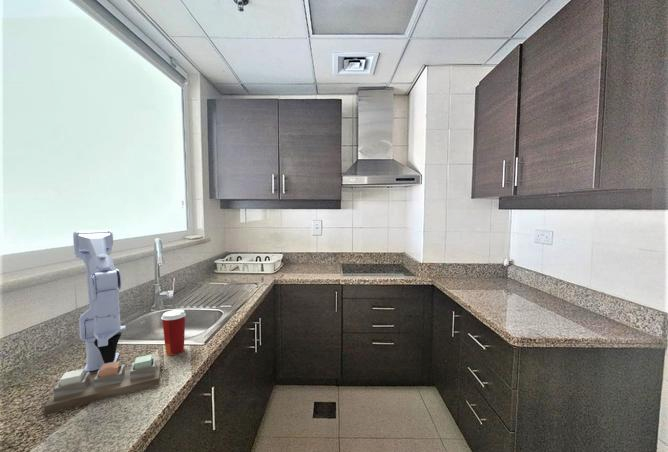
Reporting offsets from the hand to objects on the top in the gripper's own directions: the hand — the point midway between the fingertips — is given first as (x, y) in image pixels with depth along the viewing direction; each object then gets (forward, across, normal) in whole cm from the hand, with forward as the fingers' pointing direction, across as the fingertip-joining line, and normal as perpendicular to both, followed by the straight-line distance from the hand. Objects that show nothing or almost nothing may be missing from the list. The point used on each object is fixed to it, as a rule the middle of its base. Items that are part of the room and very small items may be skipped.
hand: (109, 361), depth 82 cm
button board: (+7, 0, 0) cm, 7 cm away
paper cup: (+8, +15, -16) cm, 23 cm away
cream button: (+4, 0, +8) cm, 9 cm away
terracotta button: (+4, 0, 0) cm, 4 cm away
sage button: (+4, 0, -8) cm, 9 cm away
